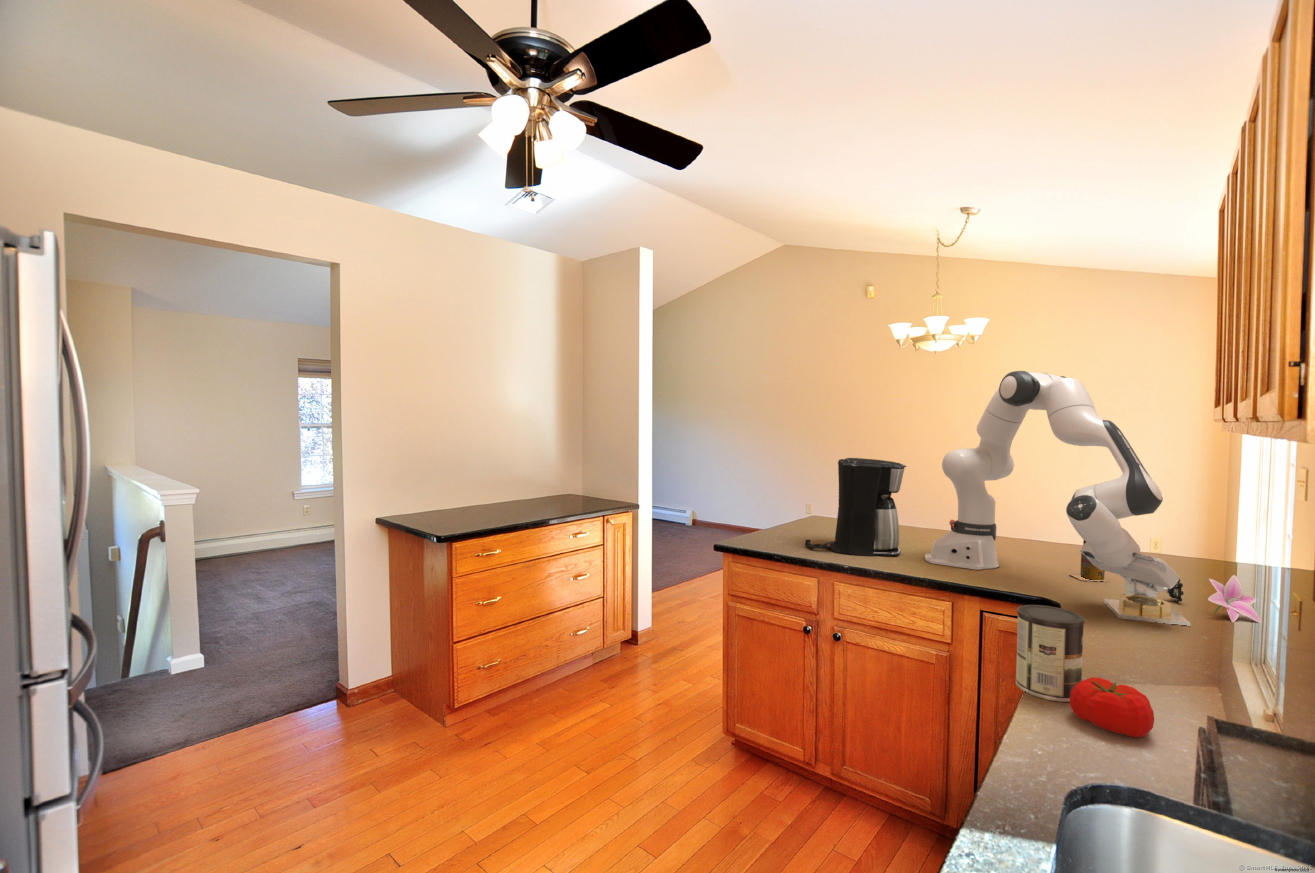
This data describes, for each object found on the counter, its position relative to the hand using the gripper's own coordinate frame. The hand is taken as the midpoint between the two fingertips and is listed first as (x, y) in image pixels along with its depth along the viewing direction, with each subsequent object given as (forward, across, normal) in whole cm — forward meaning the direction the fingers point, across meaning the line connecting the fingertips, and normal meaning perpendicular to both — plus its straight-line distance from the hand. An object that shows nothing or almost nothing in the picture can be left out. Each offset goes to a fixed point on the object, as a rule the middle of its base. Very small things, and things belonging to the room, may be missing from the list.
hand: (1147, 586), depth 153 cm
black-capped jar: (+3, 0, +4) cm, 5 cm away
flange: (+4, 0, +5) cm, 7 cm away
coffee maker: (-20, +80, +31) cm, 88 cm away
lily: (+18, -6, -8) cm, 21 cm away
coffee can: (-38, -33, +48) cm, 69 cm away
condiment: (+16, +31, -5) cm, 35 cm away
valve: (+15, +10, -4) cm, 18 cm away
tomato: (-38, -46, +48) cm, 76 cm away
